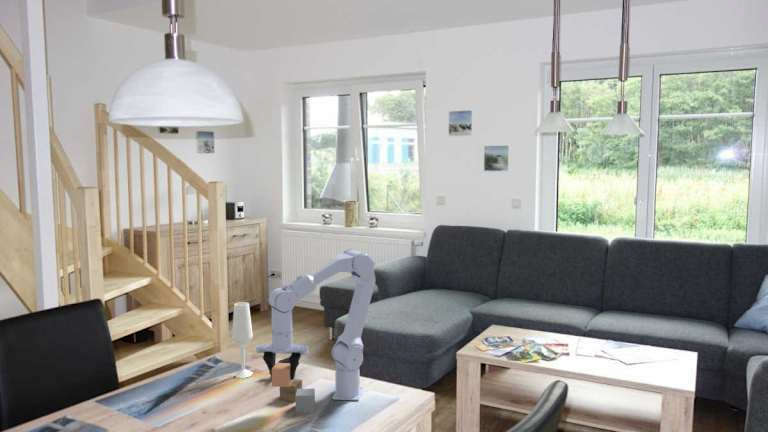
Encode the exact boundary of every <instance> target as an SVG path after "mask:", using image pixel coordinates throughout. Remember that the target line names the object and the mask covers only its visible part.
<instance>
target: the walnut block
mask: <svg viewBox="0 0 768 432" xmlns="http://www.w3.org/2000/svg"><path fill="white" fill-rule="evenodd" d="M297 389H303V379H296V378H294V381H293V382H292V384H291V385H290V387H279V401H284V402H291V403H292V402H293V403H296V400H295V396H296V392H297Z"/></svg>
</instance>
